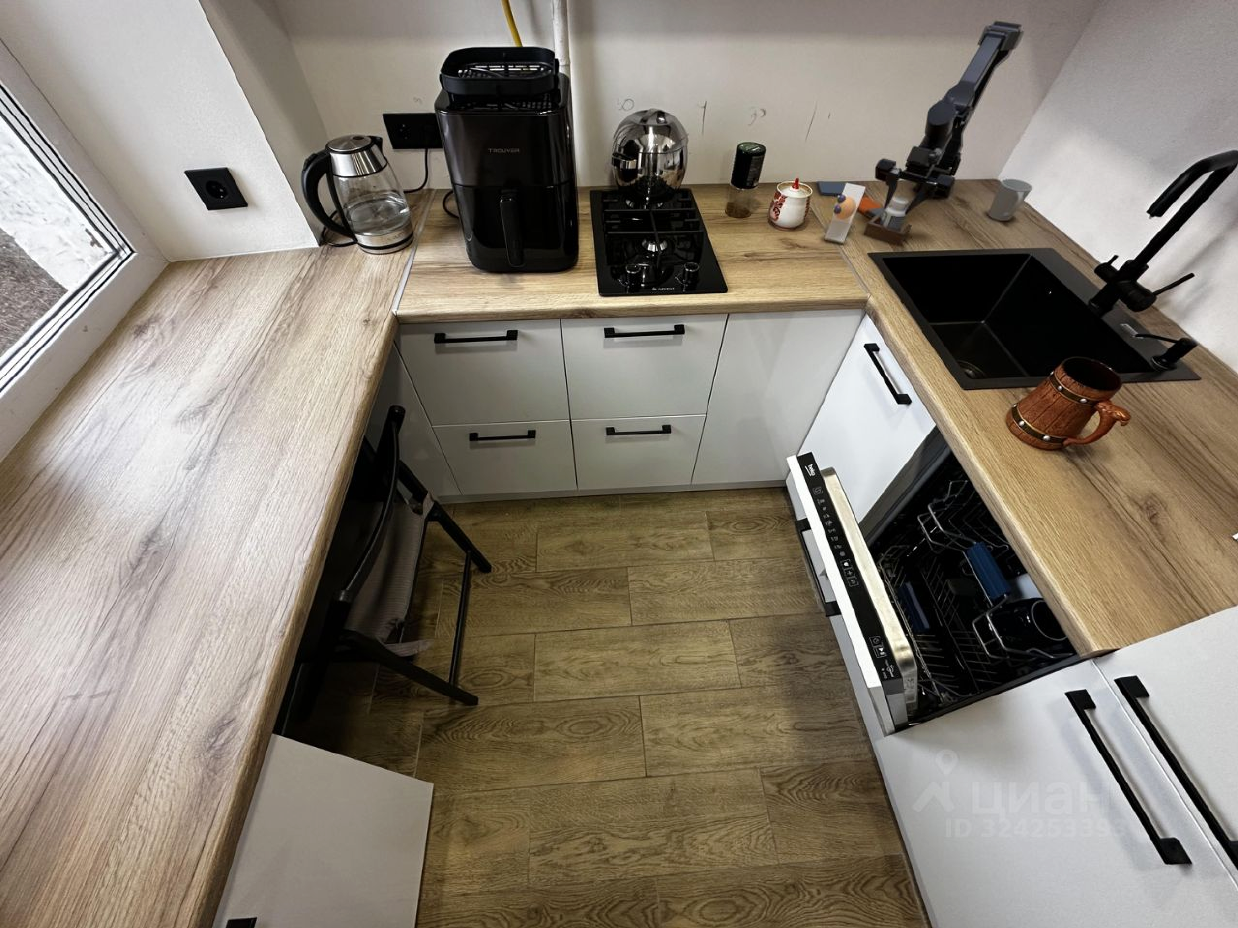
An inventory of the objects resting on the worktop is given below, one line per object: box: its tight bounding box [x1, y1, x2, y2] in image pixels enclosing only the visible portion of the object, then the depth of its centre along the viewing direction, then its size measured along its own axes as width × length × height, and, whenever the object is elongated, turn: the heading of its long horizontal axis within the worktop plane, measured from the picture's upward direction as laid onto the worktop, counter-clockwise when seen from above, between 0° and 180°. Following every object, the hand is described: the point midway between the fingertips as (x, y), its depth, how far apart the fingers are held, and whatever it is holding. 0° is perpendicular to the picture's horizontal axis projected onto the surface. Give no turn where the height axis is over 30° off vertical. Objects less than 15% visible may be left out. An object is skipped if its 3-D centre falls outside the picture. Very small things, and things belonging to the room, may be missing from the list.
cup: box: [987, 178, 1033, 222], centre depth 142 cm, size 8×10×8 cm
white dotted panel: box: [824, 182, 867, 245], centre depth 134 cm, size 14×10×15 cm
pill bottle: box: [878, 195, 910, 232], centre depth 135 cm, size 5×5×9 cm
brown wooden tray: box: [863, 215, 913, 246], centre depth 137 cm, size 6×9×3 cm
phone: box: [857, 196, 885, 225], centre depth 145 cm, size 6×1×15 cm
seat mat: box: [816, 180, 864, 198], centre depth 155 cm, size 12×8×1 cm, turn 84°
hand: (895, 210), depth 132 cm, fingers closed on pill bottle, 5 cm apart
